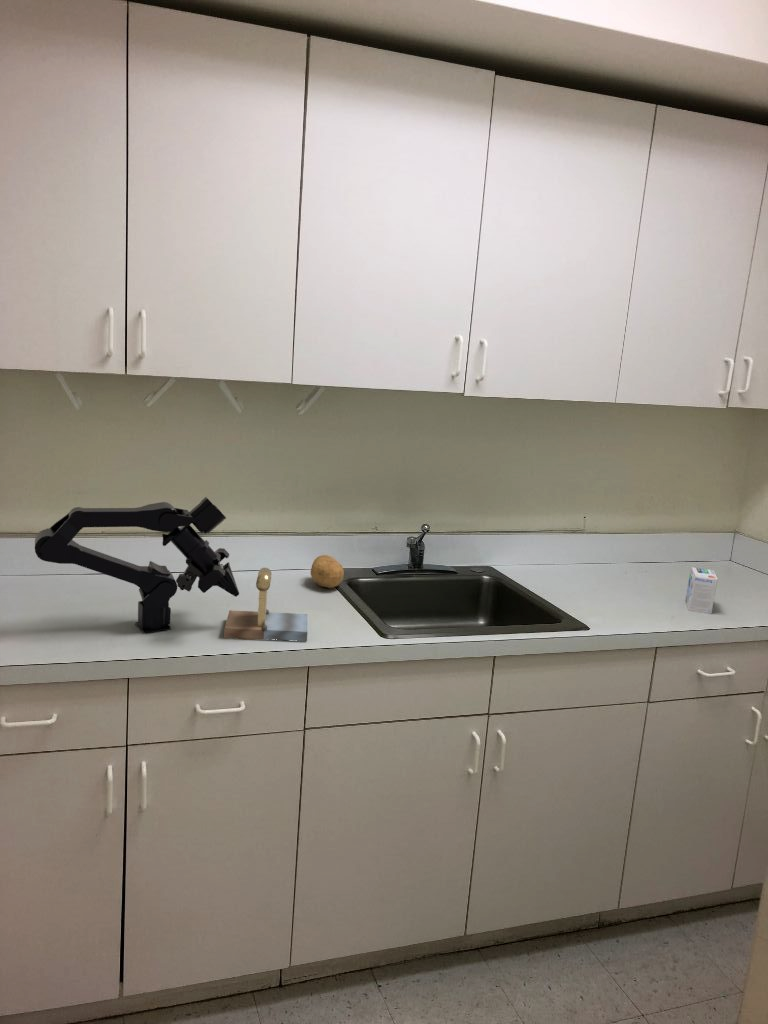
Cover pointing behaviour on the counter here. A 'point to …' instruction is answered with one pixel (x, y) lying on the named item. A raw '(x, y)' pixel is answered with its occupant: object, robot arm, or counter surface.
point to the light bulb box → (701, 590)
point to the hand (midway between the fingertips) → (237, 595)
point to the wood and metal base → (266, 626)
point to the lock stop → (263, 593)
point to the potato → (327, 571)
